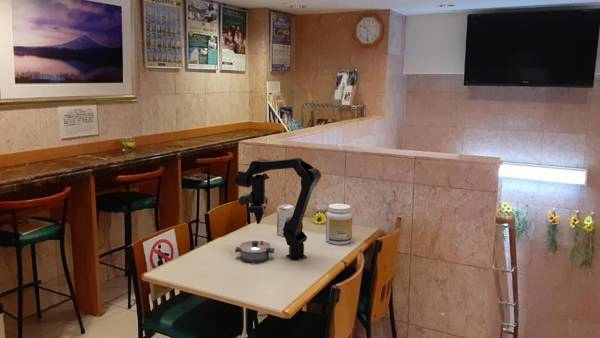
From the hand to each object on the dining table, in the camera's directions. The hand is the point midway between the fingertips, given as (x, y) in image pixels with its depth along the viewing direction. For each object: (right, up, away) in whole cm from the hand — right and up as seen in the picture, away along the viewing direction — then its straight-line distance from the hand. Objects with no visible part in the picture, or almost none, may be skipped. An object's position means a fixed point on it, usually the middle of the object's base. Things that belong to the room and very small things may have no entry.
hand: (258, 223), depth 217 cm
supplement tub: (+36, -10, +16) cm, 41 cm away
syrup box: (+11, -8, +24) cm, 28 cm away
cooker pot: (-1, -14, -8) cm, 16 cm away
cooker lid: (-1, -9, -9) cm, 13 cm away
